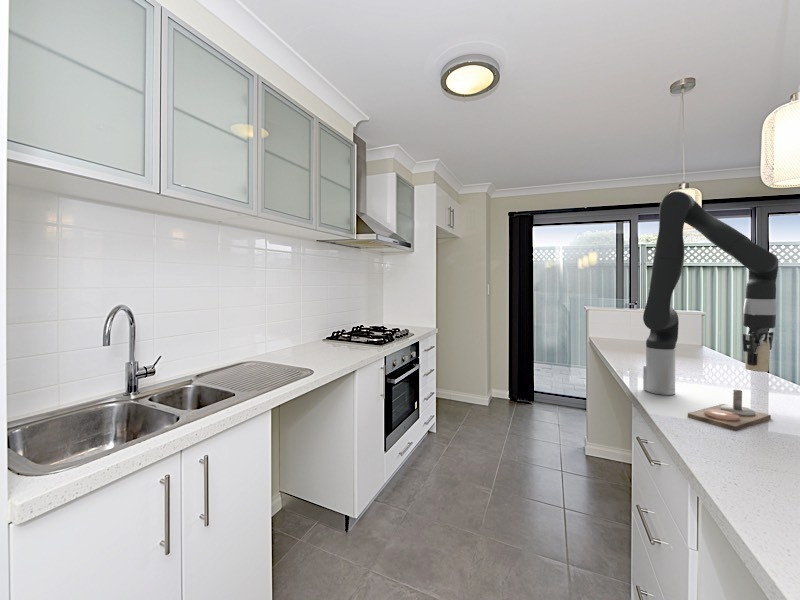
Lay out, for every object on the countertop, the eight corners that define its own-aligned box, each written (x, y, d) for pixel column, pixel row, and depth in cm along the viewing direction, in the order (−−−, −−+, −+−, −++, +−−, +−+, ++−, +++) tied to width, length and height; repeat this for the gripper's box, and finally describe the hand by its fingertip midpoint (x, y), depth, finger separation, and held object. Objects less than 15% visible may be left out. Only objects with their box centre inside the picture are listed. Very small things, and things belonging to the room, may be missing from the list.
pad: (698, 414, 113) (698, 411, 113) (713, 410, 117) (713, 407, 116) (730, 422, 106) (730, 420, 106) (745, 418, 109) (745, 415, 109)
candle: (773, 372, 116) (775, 341, 116) (753, 371, 117) (754, 341, 117) (760, 368, 122) (761, 338, 121) (740, 367, 123) (742, 338, 122)
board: (687, 416, 114) (687, 391, 114) (723, 407, 122) (723, 383, 122) (735, 430, 103) (735, 402, 103) (770, 418, 111) (771, 393, 111)
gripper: (755, 311, 125) (753, 359, 126) (733, 312, 119) (730, 363, 120) (785, 312, 118) (783, 364, 119) (763, 314, 112) (760, 369, 113)
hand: (756, 363), depth 119 cm, fingers closed on candle, 5 cm apart
